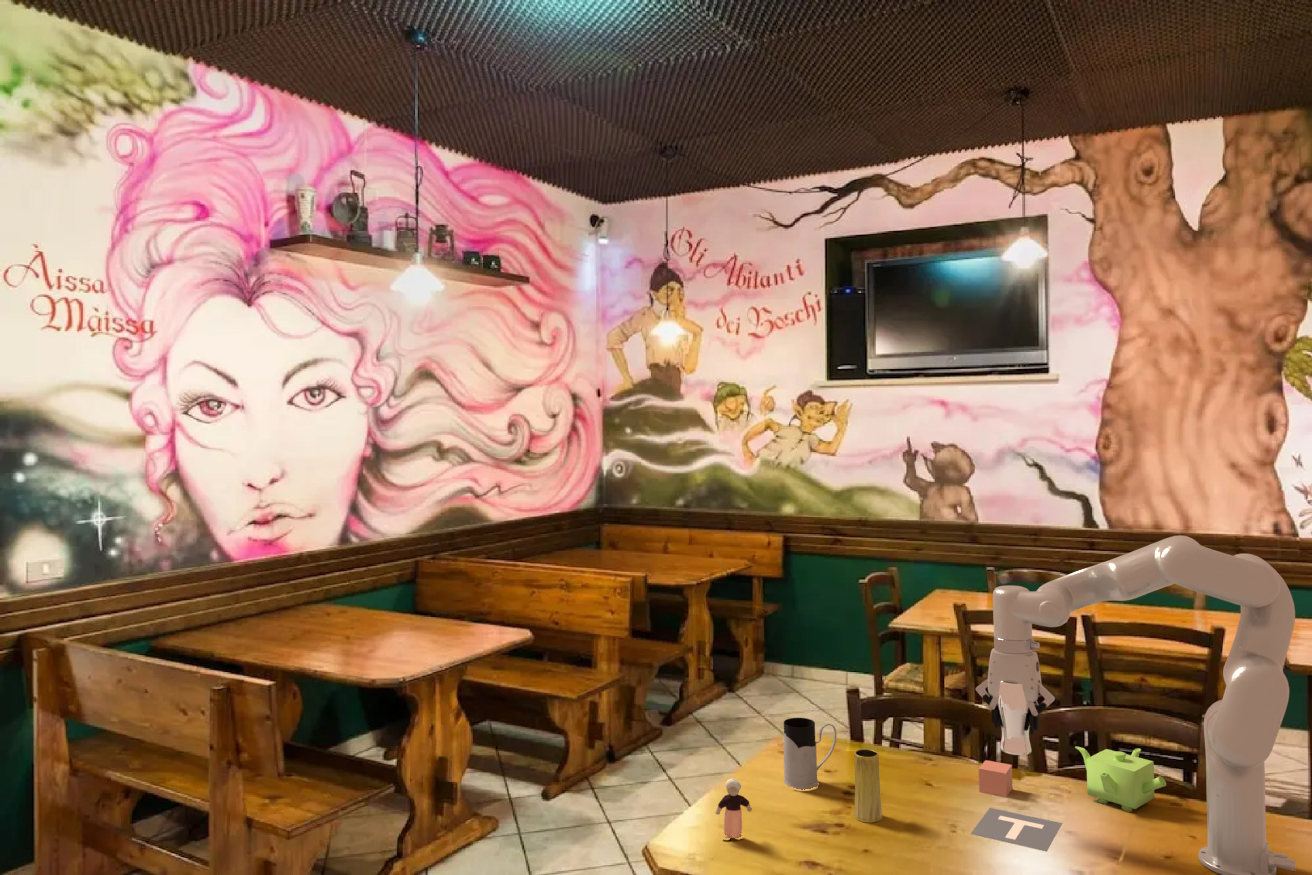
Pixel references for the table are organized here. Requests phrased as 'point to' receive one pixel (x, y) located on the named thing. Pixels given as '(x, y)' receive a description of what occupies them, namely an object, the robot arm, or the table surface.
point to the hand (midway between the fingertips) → (1015, 728)
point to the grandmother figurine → (733, 809)
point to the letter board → (1017, 829)
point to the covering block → (995, 778)
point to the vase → (867, 786)
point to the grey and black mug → (802, 753)
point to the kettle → (1121, 778)
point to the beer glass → (1014, 719)
